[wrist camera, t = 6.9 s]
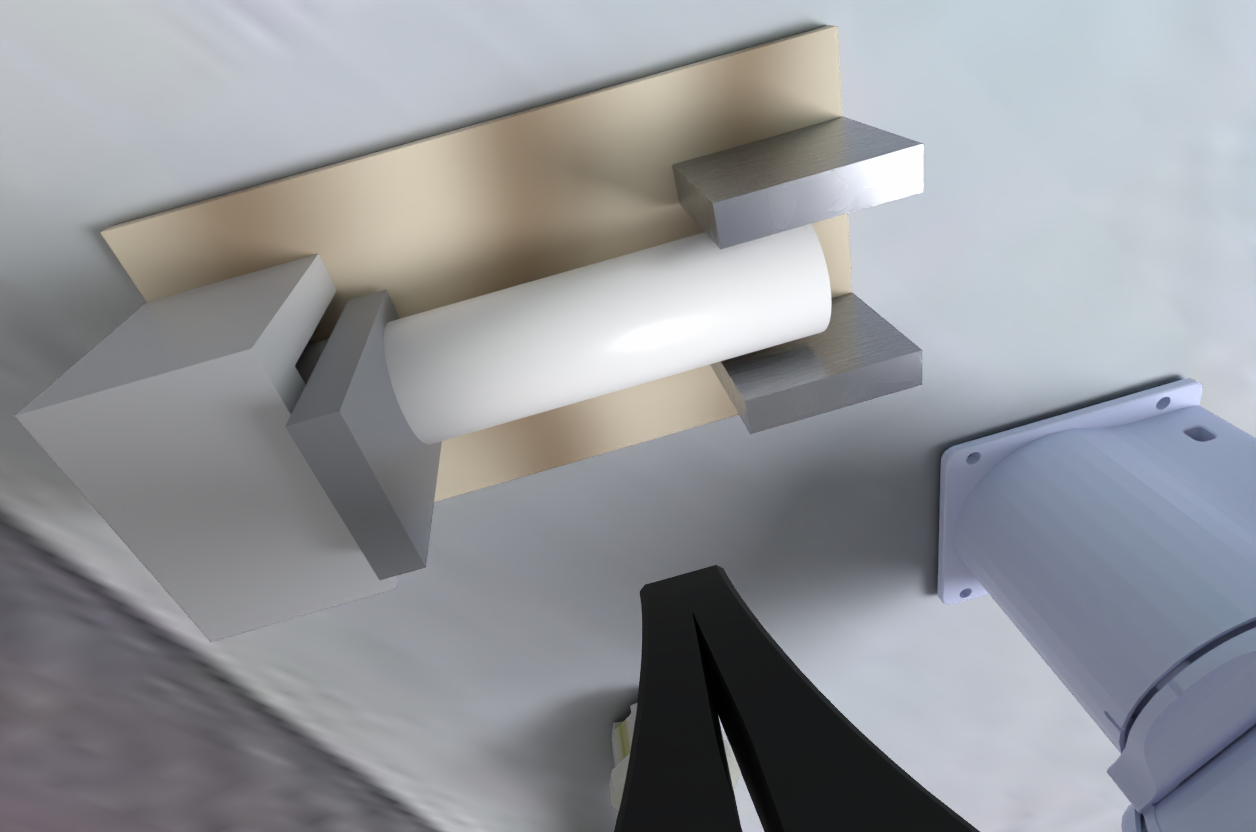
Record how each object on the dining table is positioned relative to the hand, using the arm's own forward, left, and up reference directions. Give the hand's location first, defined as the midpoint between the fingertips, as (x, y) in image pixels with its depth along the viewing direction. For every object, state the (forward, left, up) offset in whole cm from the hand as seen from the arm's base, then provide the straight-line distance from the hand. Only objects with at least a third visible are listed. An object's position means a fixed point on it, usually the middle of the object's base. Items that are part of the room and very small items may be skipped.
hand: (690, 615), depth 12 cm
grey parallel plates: (-5, -2, -10) cm, 12 cm away
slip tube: (+2, -2, -10) cm, 10 cm away
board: (+2, -2, -10) cm, 11 cm away
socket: (+9, -2, -10) cm, 13 cm away
